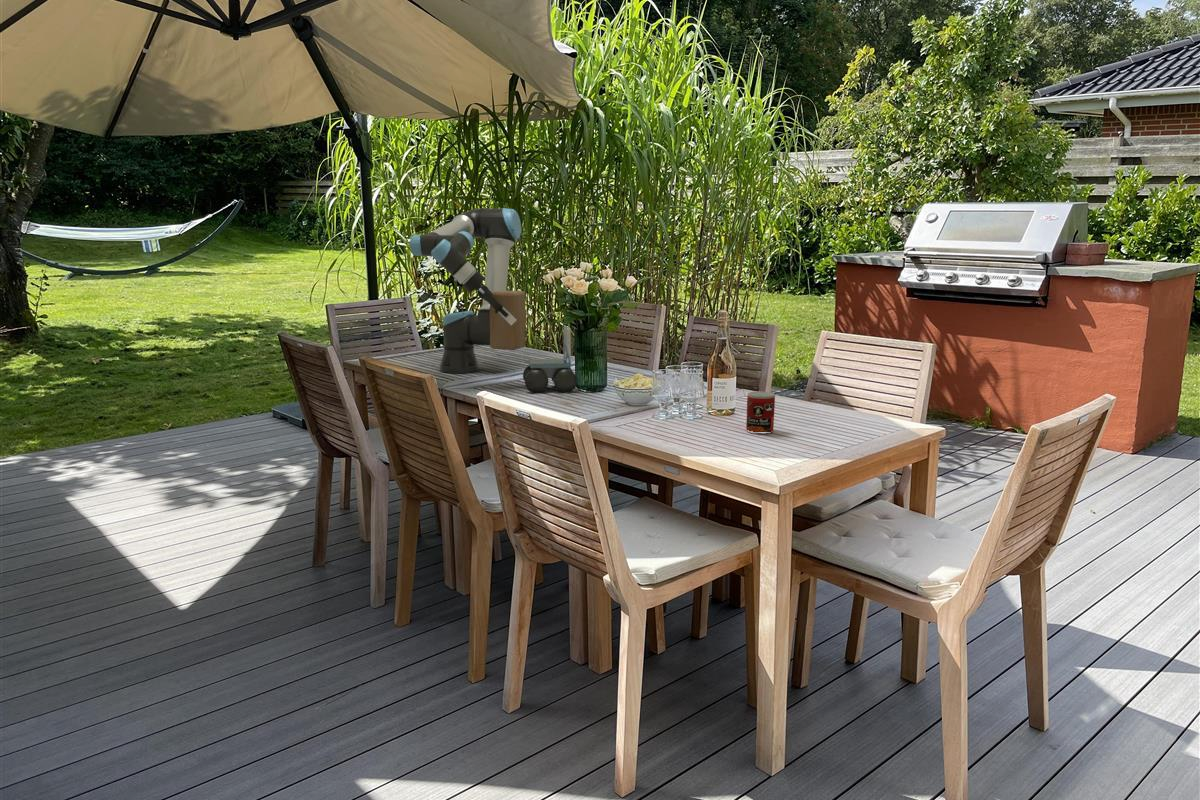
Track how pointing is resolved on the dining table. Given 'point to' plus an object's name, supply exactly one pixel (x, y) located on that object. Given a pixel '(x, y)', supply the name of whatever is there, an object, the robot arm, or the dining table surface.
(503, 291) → the wooden block
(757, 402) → the canned food
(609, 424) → the dining table surface
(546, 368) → the trolley
